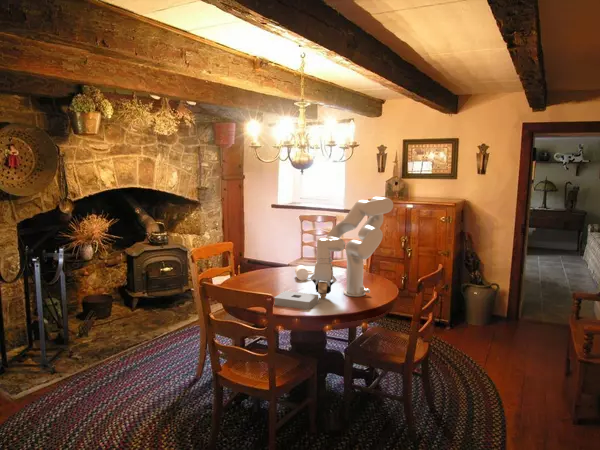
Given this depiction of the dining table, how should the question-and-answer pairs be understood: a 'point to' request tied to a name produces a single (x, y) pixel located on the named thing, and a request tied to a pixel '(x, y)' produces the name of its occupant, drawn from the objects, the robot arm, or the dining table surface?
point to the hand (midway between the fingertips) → (323, 291)
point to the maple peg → (322, 289)
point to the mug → (302, 272)
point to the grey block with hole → (296, 300)
